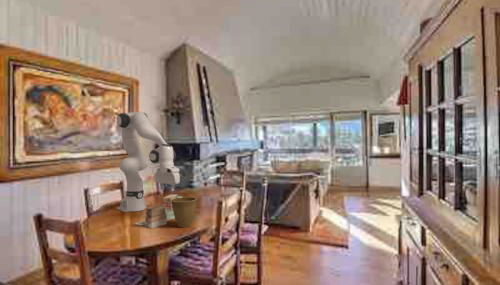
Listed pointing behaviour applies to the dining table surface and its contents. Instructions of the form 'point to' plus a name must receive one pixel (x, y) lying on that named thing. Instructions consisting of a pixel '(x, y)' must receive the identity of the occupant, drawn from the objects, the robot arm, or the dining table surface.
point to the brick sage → (170, 214)
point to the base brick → (155, 221)
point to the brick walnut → (155, 211)
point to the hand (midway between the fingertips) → (167, 190)
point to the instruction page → (140, 223)
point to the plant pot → (184, 210)
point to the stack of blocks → (169, 201)
